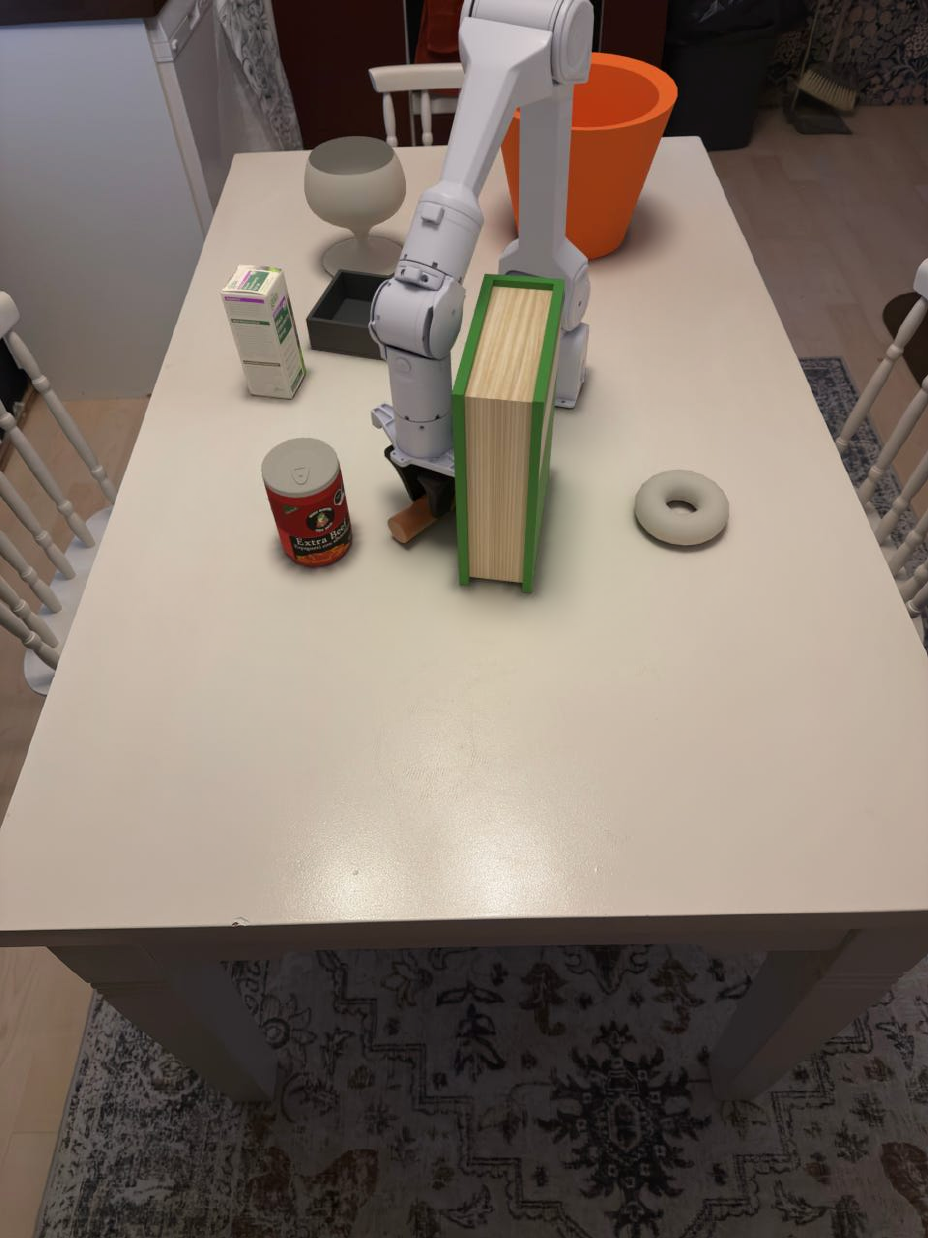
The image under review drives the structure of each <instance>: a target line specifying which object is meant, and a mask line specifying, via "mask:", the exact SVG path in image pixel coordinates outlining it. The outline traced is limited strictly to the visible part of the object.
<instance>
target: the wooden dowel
mask: <svg viewBox="0 0 928 1238" xmlns="http://www.w3.org/2000/svg"><path fill="white" fill-rule="evenodd" d="M454 508H456V493H455V496H454V499H453V502H452V506H451V510H453V509H454ZM437 520H438V519H436V518H434V517H433V515H432V513H431V511H430V505H429V500H428V496H427V493H426V494H424V495H423V496H421V497H420V498H418V499H417V500H416V501H414V502H413V501H412V502H411V503H410V504H408V505H407V506H405V507H404V508H403V509H401V510H400V511H398V512H397V513H395V514H394V515H393V516H391V517H390V518H388V520H387V528H388V529H389V532H390V533H391V535H392V536H393V537H394V538H395V540H397V541H398V542H400V543H402V544H405V543H407V542H409V541H410V540H411V539H413V538H414V537H416V535H418V534H419V533H421V532H422V531H424V530H425V529H427V528H428V527H429V526H431V525H432V524H433V523H435V522H436V521H437Z"/></svg>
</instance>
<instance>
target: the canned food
mask: <svg viewBox="0 0 928 1238" xmlns="http://www.w3.org/2000/svg"><path fill="white" fill-rule="evenodd" d="M260 469H261V470H260V471H261V477H262V478H261V479H262V482H263V485H264V489H265V492H266V495H267V499H268V502H269V507H270V510H271V513H272V516H273V519H274V523H275V526H276V530H277V533H278V536H279V540H280V544H281V546H282V548H283V550H284V551H285V553H286V554H287V555H288V556H289V558H290V559H292V561H295V563H297V564H301V565H303V566H308V567H318V566H319V567H321V566H325V565H329V564H331V563H333V562H335V561H337V560H338V559H340V558H342V556H343V555H345V553H346V552H347V551H348V549H349V547H350V545H351V541H352V537H353V528H352V522H351V516H350V511H349V505H348V501H347V500H348V499H347V496H346V489H345V483H344V478H343V474H342V473H343V472H342V468H341V462H340V459H339V457H338V454H337V452H336V450H335V449H334V448H333V447H332V446H331V445H330V444H329V443H327V442H326V441H324V440H320V439H317V438H312V437H296V438H291V439H288V440H285V441H283V442H281V443H279V444H277V445H275V446H273V448H271V449H270V450H269V451H268V452H267V453H266V454H265V456H264V457H263V460H262V462H261V465H260Z"/></svg>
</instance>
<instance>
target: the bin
mask: <svg viewBox="0 0 928 1238" xmlns="http://www.w3.org/2000/svg"><path fill="white" fill-rule="evenodd" d="M393 277H394V275H389V276H388V275H380V274H373V273H365V272H358V271H351V270H343V269H339V270H338V272H337V273H336V275H335V276H333V277H332V279H331V280H330V282H329V283H328V285H327V286H326V288H325V289H324V290H323V292H322V293H321V296H320V297H319V298H318V300H317V301H316V302H315V304H314V306H313V307H312V308H311V310H310V311H309V313H308V314H307V316H306V317H305V323H306V328H307V333H308V338H309V343H310V348H311V350H314V351H315V350H316V351H323V352H328V353H334V354H335V353H336V354H341V355H346V356H347V355H348V356H353V357H360V358H366V359H373V360H374V359H375V360H380V361H385V360H384V359H383V358H381V353H380V347H379V344H378V343H377V342H375V341H374V340H373V338H372V337H371V334H370V331H369V326H368V325H369V323H370V315H371V306H372V302H373V298H374V296H375V293H376V291H377V289H378V288H379V286H380V285H381V284H382V283H383V282H384V281H386V280H389V279H392V278H393Z"/></svg>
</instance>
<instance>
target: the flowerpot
mask: <svg viewBox="0 0 928 1238" xmlns="http://www.w3.org/2000/svg"><path fill="white" fill-rule="evenodd" d="M678 95H679V94H678V87H677V85H676V83H675V81H674V79H673V78H672V77H670V75H669V74H667V72H666V71H663V70H662V69H660V68H659V67H657V66H656V65H652V64H650V63H648V62H646V61H643V60H639V59H635V58H632V57H629V56H622V55H620V54H619V55H618V54H613V53H604V52H591V65H590V70H589V77H588V81H587V82H586V83H581V84H574V91H573V106H572V124H571V141H570V158H569V176H568V193H567V211H566V228H565V236H566V238H567V239H568V240H569V241H570V242H571V243H572V244H573V245H574V246H575V247H576V248H577V249H578V250H579V251H581V252H582V253H583V254H584V255H585V256H586V258H587V259H588V261H590V260H595V259H598V258H601V257H605V256H606V255H609V254H611V253H612V252H614V251H616V250H617V249H618V248H619V247H620V246H621V244H622V243H623V241H624V238H625V235H626V233H627V230H628V228H629V225H630V222H631V220H632V217H633V214H634V212H635V209H636V207H637V203H638V200H639V198H640V195H641V193H642V190H643V189H644V185H645V182H646V180H647V177H648V174H649V172H650V169H651V167H652V164H653V162H654V159H655V156H656V153H657V151H658V148H659V145H660V143H661V141H662V138H663V135H664V133H665V130H666V127H667V125H668V122H669V119H670V117H671V114H672V111H673V109H674V106H675V104H676V101H677V98H678ZM500 151H501V156H502V160H503V166H504V170H505V171H504V172H505V177H506V182H507V185H508V191H509V195H510V196H509V197H510V201H511V206H512V210H513V216H514V220H515V225H516V230H517V236H518V237H519V155H520V107H518V108H517V109H516V111H515V114H514V116H513V118H512V121H511V123H510V125H509V128H508V130H507V132H506V135H505V137H504V139H503V142H502V144H501V146H500Z"/></svg>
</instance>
